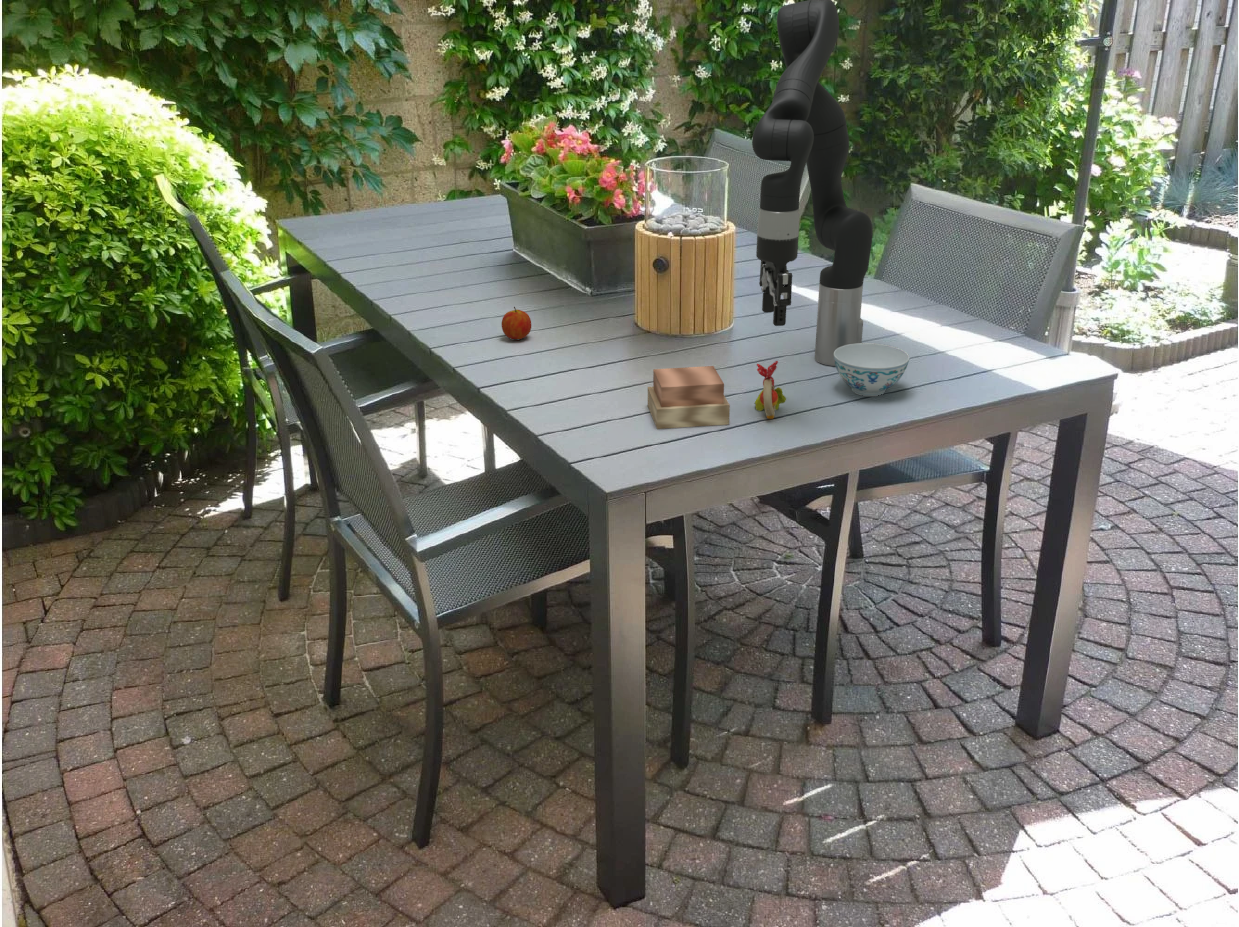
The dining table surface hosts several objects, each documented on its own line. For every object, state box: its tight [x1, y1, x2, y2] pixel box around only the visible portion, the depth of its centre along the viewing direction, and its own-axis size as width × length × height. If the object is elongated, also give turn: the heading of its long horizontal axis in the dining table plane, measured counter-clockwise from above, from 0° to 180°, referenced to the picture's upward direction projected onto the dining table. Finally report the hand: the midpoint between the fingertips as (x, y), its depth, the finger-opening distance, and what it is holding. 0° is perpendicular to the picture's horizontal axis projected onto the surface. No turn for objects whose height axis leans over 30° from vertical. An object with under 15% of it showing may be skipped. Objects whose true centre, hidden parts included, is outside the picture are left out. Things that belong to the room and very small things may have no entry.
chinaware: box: [834, 342, 910, 397], centre depth 227 cm, size 15×15×8 cm
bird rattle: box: [753, 360, 787, 420], centre depth 215 cm, size 6×11×9 cm
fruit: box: [501, 306, 532, 340], centre depth 259 cm, size 7×7×8 cm
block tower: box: [647, 365, 731, 430], centre depth 216 cm, size 14×12×8 cm
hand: (773, 318), depth 210 cm, fingers open, 8 cm apart
